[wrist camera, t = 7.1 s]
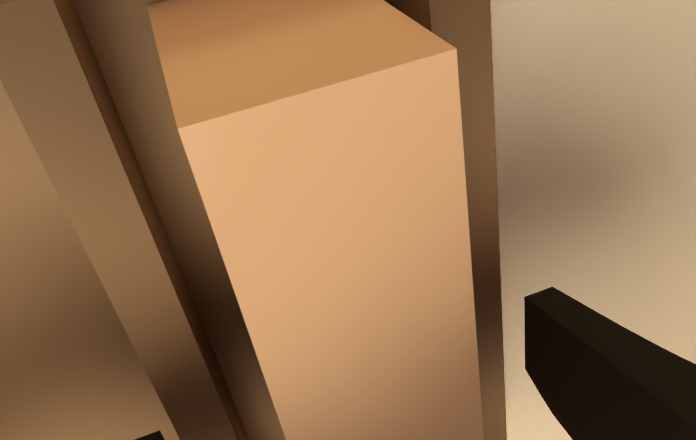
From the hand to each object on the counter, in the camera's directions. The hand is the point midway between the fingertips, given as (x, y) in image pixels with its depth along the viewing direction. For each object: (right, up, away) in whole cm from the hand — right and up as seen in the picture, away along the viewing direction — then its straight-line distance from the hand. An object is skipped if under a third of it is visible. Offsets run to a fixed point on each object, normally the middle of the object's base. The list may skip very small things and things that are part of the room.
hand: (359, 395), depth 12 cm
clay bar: (-1, +2, +2) cm, 3 cm away
